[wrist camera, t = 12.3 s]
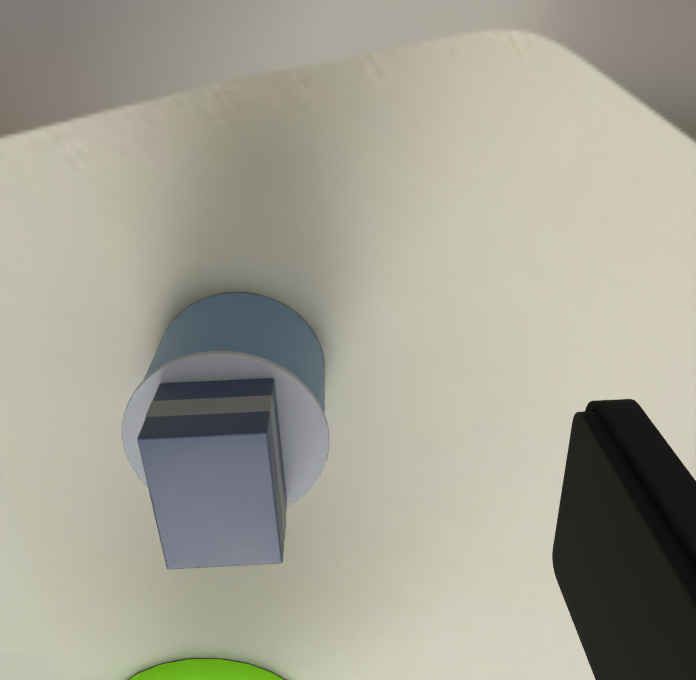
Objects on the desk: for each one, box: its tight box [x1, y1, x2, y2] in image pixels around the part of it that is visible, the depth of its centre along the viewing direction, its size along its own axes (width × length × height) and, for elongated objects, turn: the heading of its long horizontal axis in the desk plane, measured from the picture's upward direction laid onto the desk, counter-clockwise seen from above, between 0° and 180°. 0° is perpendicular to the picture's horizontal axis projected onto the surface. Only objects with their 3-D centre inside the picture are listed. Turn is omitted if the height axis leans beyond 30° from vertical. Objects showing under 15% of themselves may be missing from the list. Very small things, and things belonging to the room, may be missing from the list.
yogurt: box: [122, 293, 329, 507], centre depth 33 cm, size 9×9×7 cm
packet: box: [137, 378, 287, 569], centre depth 29 cm, size 7×5×4 cm
